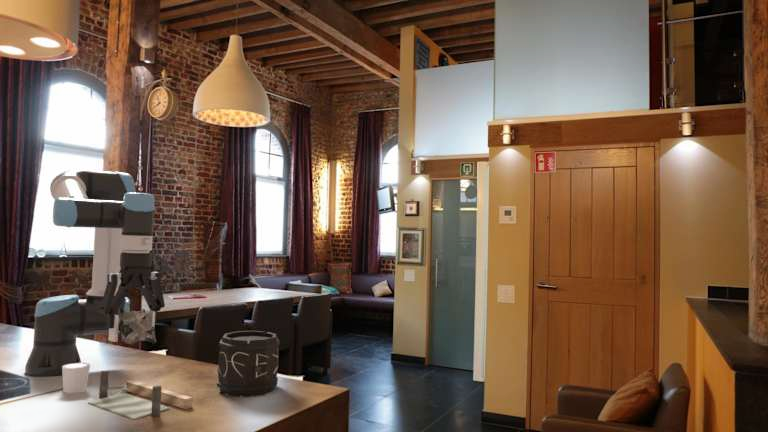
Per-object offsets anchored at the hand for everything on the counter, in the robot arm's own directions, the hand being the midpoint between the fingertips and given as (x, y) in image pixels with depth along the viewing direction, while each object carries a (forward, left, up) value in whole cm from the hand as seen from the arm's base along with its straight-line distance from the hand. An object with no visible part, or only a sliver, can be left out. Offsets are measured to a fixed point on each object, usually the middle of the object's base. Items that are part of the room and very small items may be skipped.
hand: (131, 338), depth 141 cm
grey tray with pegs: (0, +2, -18) cm, 18 cm away
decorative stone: (+1, 0, -1) cm, 1 cm away
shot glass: (-24, -1, -18) cm, 30 cm away
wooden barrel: (+12, +30, -18) cm, 37 cm away
